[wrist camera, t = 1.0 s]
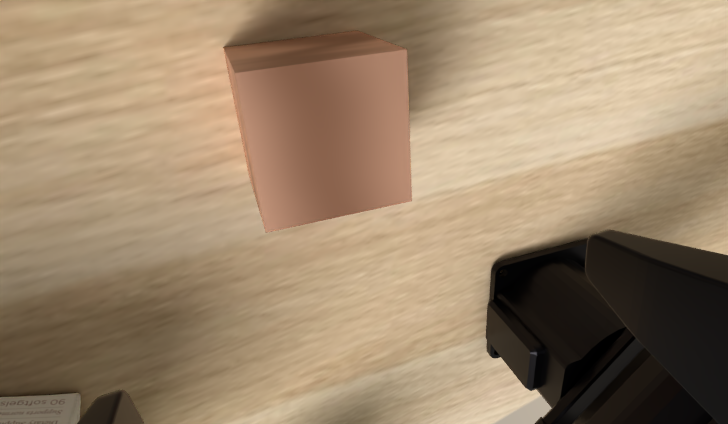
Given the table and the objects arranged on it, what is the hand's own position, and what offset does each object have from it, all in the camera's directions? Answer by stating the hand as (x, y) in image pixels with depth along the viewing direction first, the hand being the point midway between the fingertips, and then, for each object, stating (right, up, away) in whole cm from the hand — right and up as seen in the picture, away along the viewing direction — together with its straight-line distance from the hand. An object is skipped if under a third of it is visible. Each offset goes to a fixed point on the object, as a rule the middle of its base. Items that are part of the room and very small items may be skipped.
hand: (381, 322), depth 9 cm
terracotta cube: (-3, +6, +10) cm, 12 cm away
